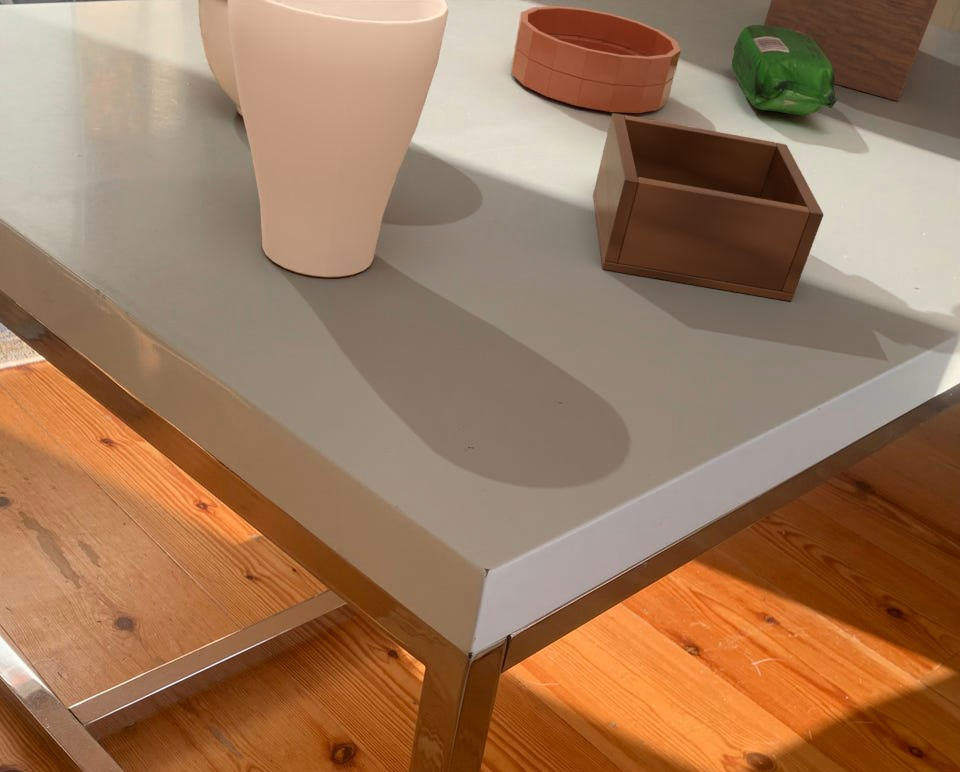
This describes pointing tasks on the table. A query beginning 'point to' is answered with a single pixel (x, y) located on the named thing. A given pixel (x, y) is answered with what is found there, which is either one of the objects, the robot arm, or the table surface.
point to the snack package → (783, 70)
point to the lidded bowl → (219, 45)
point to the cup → (330, 117)
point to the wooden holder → (703, 208)
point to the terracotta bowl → (594, 59)
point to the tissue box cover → (861, 37)
